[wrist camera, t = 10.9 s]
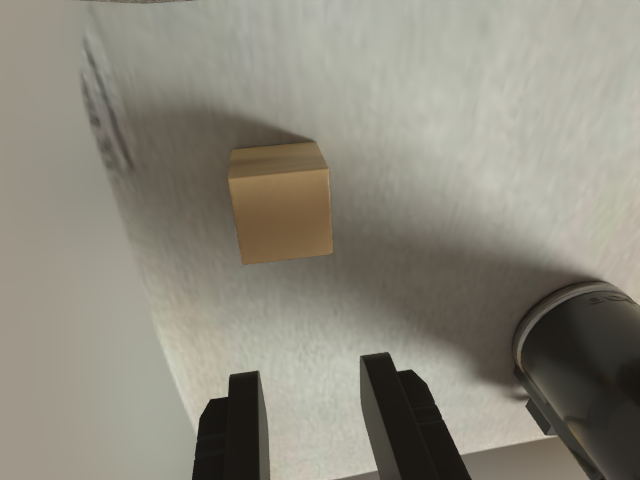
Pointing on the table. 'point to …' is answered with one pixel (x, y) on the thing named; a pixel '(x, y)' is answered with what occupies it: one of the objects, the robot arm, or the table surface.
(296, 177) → the beech block
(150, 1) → the cabinet
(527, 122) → the table surface
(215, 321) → the table surface
